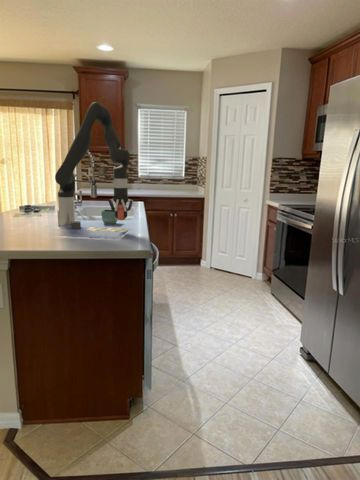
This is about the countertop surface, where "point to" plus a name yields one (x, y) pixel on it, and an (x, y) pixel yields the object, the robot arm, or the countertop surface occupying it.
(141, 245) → the countertop surface
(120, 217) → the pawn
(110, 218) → the flower pot
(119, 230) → the board
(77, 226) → the die
